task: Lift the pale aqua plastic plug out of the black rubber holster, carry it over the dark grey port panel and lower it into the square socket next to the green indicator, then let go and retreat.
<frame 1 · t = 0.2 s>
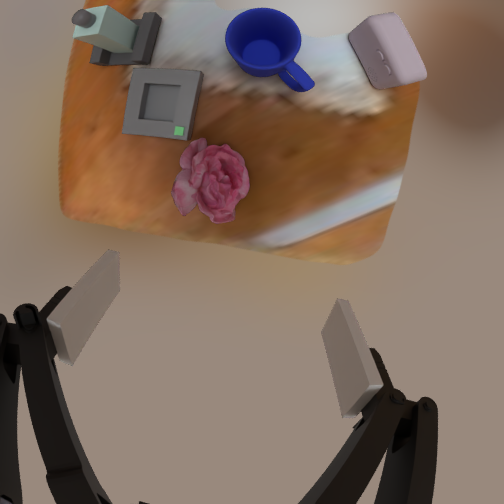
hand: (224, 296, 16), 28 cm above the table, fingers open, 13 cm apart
flower: (218, 174, 40), on the table
electronic device: (369, 59, 32), on the table
plug: (128, 41, 30), point 1 cm above the table, touching holster
port: (164, 103, 35), on the table
mug: (270, 66, 33), on the table
holster: (130, 42, 30), on the table
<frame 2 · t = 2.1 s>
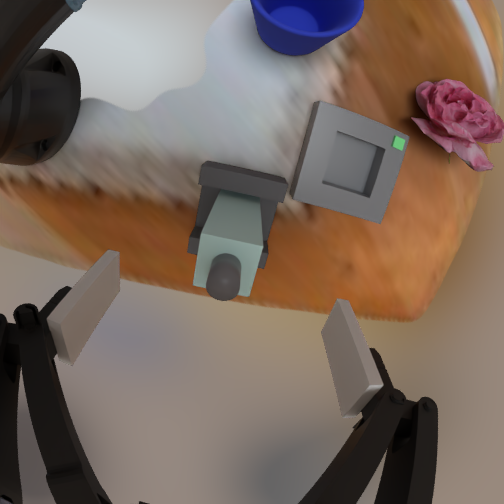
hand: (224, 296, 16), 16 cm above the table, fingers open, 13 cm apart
flower: (437, 116, 24), on the table
plug: (236, 210, 29), point 1 cm above the table, touching holster
port: (346, 161, 27), on the table
mug: (304, 21, 21), on the table
holster: (236, 208, 30), on the table
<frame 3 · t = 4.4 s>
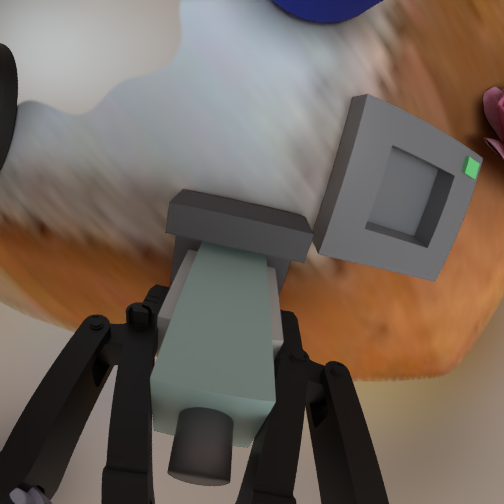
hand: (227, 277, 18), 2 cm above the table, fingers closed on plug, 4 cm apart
flower: (503, 134, 15), on the table
plug: (229, 263, 19), point 1 cm above the table, touching gripper, holster
port: (395, 190, 17), on the table
holster: (230, 259, 20), on the table
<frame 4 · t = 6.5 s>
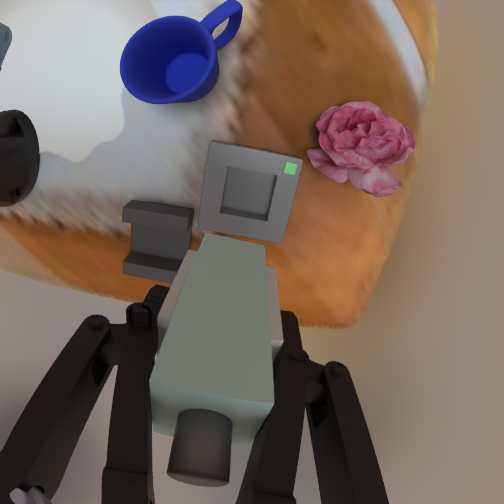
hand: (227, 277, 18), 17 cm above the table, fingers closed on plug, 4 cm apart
flower: (348, 139, 30), on the table
plug: (229, 265, 19), point 15 cm above the table, touching gripper
port: (248, 188, 33), on the table
mug: (202, 63, 26), on the table
holster: (160, 235, 35), on the table
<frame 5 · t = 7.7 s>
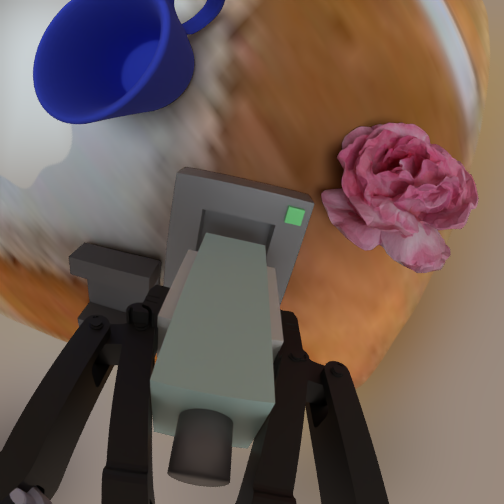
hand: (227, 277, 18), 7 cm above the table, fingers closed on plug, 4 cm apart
flower: (378, 174, 21), on the table
plug: (229, 264, 19), point 5 cm above the table, touching gripper
port: (233, 236, 24), on the table
mug: (173, 55, 17), on the table
holster: (122, 287, 26), on the table
when the fingers open (4 cm above the table, at t = 8.9 s): plug drops 1 cm, resting on port.
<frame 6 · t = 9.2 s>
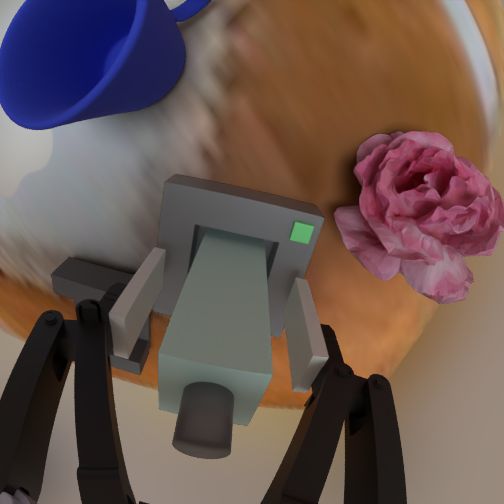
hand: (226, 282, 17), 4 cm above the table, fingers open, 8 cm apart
flower: (396, 187, 19), on the table
plug: (230, 256, 21), resting on port
port: (231, 253, 21), on the table
mug: (162, 47, 14), on the table
holster: (111, 305, 23), on the table
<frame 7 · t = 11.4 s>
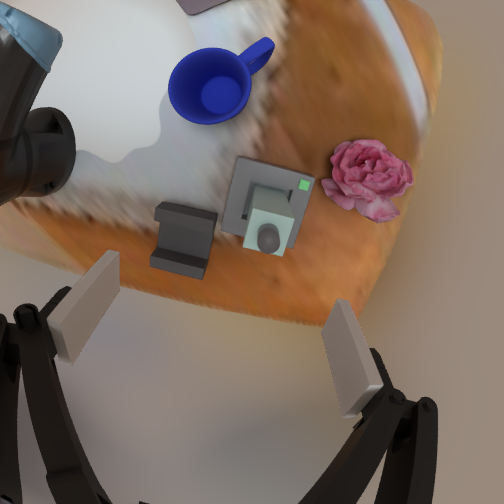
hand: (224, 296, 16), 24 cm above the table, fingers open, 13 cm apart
flower: (357, 170, 36), on the table
plug: (266, 200, 37), resting on port
port: (266, 199, 38), on the table
mug: (233, 86, 32), on the table
holster: (185, 235, 40), on the table
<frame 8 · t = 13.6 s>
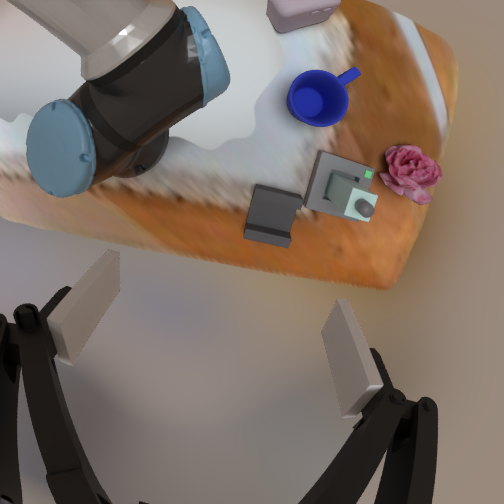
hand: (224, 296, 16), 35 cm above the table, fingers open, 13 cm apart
flower: (400, 167, 46), on the table
electronic device: (298, 19, 34), on the table
plug: (337, 185, 47), resting on port
port: (337, 184, 47), on the table
mug: (315, 96, 41), on the table
holster: (271, 212, 50), on the table
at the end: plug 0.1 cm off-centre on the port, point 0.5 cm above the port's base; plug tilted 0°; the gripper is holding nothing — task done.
